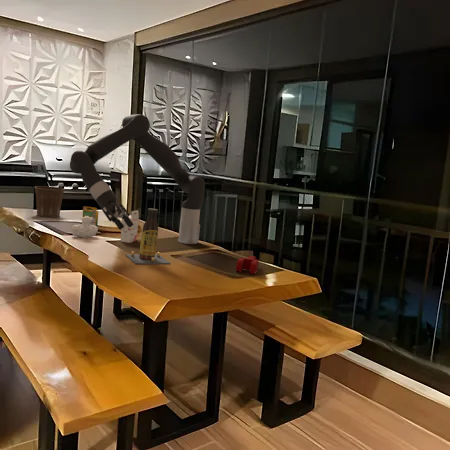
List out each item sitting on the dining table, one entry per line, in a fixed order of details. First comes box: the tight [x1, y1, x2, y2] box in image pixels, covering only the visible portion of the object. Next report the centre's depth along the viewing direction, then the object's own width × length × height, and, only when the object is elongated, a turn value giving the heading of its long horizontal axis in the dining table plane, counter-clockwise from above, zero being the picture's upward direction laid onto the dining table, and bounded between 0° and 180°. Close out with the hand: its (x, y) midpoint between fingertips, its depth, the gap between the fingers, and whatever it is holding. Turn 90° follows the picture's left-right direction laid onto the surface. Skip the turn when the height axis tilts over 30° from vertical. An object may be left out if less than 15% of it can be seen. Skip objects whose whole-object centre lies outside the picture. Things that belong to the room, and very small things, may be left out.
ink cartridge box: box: [120, 209, 139, 244], centre depth 218 cm, size 9×5×15 cm, turn 168°
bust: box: [71, 216, 99, 239], centre depth 214 cm, size 12×8×11 cm
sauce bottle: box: [139, 207, 159, 260], centre depth 183 cm, size 7×6×20 cm
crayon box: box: [81, 206, 99, 227], centre depth 237 cm, size 7×3×12 cm, turn 84°
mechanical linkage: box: [235, 255, 260, 275], centre depth 186 cm, size 16×7×5 cm, turn 166°
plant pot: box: [34, 185, 66, 218], centre depth 265 cm, size 16×16×16 cm
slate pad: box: [125, 253, 171, 265], centre depth 184 cm, size 14×14×1 cm
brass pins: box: [130, 250, 161, 263], centre depth 183 cm, size 12×10×2 cm
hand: (127, 227), depth 185 cm, fingers open, 8 cm apart
